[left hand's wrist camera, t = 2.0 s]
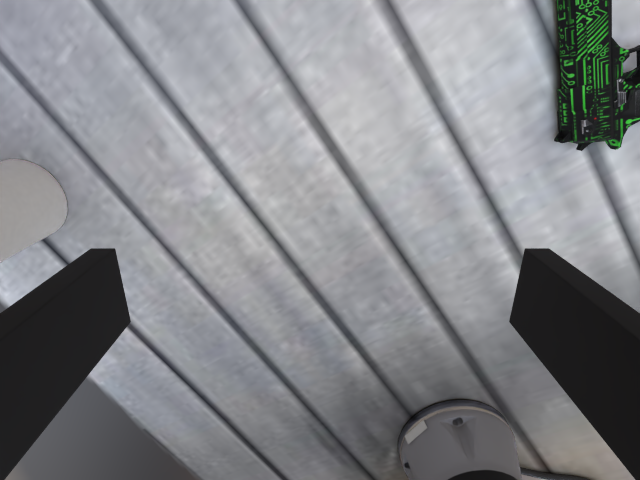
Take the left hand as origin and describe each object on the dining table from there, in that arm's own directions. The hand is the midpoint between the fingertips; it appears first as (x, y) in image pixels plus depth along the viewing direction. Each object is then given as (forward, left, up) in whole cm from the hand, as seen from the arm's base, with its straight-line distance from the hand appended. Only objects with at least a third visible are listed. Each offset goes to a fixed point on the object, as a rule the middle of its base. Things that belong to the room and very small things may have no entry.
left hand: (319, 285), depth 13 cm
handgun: (-8, +28, -28) cm, 40 cm away
